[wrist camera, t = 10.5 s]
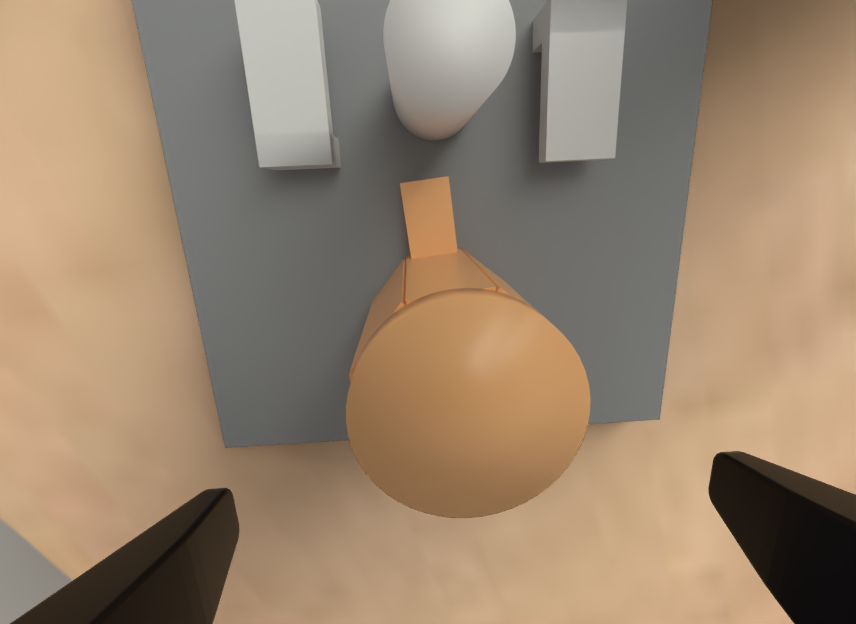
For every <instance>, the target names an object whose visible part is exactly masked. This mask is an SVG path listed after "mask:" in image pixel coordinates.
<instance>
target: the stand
mask: <svg viewBox="0 0 856 624" xmlns="http://www.w3.org/2000/svg"><path fill="white" fill-rule="evenodd" d="M132 4H133V8H134V13H135V18H136V23H137V28H138V32H139V37H140V42H141V47H142V52H143V56H144V61H145V66H146V71H147V76H148V80H149V85H150V90H151V95H152V100H153V104H154V109H155V114H156V119H157V124H158V128H159V133H160V138H161V143H162V147H163V152H164V157H165V162H166V167H167V171H168V176H169V181H170V186H171V191H172V195H173V200H174V205H175V210H176V215H177V219H178V224H179V229H180V234H181V239H182V243H183V248H184V253H185V258H186V263H187V267H188V272H189V277H190V282H191V287H192V291H193V296H194V301H195V306H196V310H197V315H198V320H199V325H200V330H201V334H202V339H203V344H204V349H205V354H206V358H207V363H208V368H209V373H210V378H211V382H212V387H213V392H214V397H215V402H216V406H217V411H218V416H219V421H220V426H221V430H222V435H223V440H224V445H225V448H232V447H247V446H262V445H277V444H293V443H308V442H323V441H339V440H349V437H348V432H347V425H346V403H347V396H348V391H349V387H350V384H351V382H350V377H349V373H350V369H351V365H352V362H353V359H354V356H355V353H356V350H357V347H358V344H359V341H360V338H361V335H362V332H363V328H364V325H365V322H366V319H367V316H368V313H369V310H370V307H371V304H372V301H373V299H374V298H375V297H376V295H377V294H378V292H379V291H380V290H381V288H382V287H383V286H384V284H385V283H386V282H387V280H388V279H389V278H390V276H391V275H392V273H393V272H394V271H395V269H396V268H397V267H398V265H399V264H400V263H401V261H402V260H403V259H404V258H405V259H406V257H407V256H411V253H410V247H409V240H408V234H407V227H406V221H405V214H404V208H403V201H402V195H401V188H400V183H405V182H412V181H419V180H425V179H432V178H439V177H446V176H449V184H450V192H451V201H452V209H453V217H454V225H455V234H456V242H457V249H461V250H465V251H466V252H467V253H469V254H470V255H471V256H472V257H474V258H475V259H476V260H478V261H479V262H480V263H482V264H483V265H484V266H486V267H487V268H488V269H489V270H491V271H492V272H493V273H495V274H496V275H497V276H499V277H500V278H501V279H503V280H504V281H505V282H506V283H507V284H508V285H509V286H510V287H512V288H513V289H514V290H515V291H516V292H517V293H518V294H519V295H520V296H521V297H522V298H524V299H525V300H526V301H527V302H528V303H529V304H530V305H531V306H532V307H533V308H534V309H536V310H537V311H538V312H539V313H540V314H542V315H543V316H544V317H545V318H546V319H547V320H548V321H549V322H551V323H552V324H553V325H554V326H555V327H556V328H557V329H558V330H559V331H560V332H562V334H563V335H564V336H565V337H566V338H567V339H568V341H569V342H570V343H571V344H572V346H573V347H574V349H575V350H576V352H577V354H578V355H579V357H580V359H581V362H582V364H583V366H584V369H585V371H586V375H587V379H588V383H589V389H590V398H591V400H590V416H589V421H588V424H598V423H613V422H629V421H644V420H659V419H660V412H661V405H662V397H663V389H664V381H665V373H666V365H667V357H668V349H669V341H670V333H671V325H672V317H673V309H674V302H675V294H676V286H677V278H678V270H679V262H680V254H681V246H682V238H683V230H684V222H685V214H686V206H687V199H688V191H689V183H690V175H691V167H692V159H693V151H694V143H695V135H696V127H697V119H698V111H699V103H700V96H701V88H702V80H703V72H704V64H705V56H706V48H707V40H708V32H709V24H710V16H711V8H712V0H132Z"/></svg>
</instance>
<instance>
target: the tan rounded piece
mask: <svg viewBox="0 0 856 624" xmlns="http://www.w3.org/2000/svg"><path fill="white" fill-rule="evenodd" d="M400 188H401V195H402V201H403V208H404V214H405V221H406V227H407V234H408V240H409V247H410V253H411V256H407V257H406V259H405V258H404V259H403V260H402V261H401V263H400V264H399V265H398V267H397V268H396V269H395V271H394V272H393V273H392V275H391V276H390V278H389V279H388V280H387V282H386V283H385V284H384V286H383V287H382V288H381V290H380V291H379V292H378V294H377V295H376V297H375V298H374V299H373V301H372V304H371V307H370V310H369V313H368V316H367V319H366V322H365V325H364V328H363V332H362V335H361V338H360V341H359V344H358V347H357V350H356V353H355V356H354V359H353V362H352V365H351V369H350V373H349V377H350V382H351V384H350V387H349V391H348V396H347V403H346V425H347V432H348V437H349V440H350V444H351V447H352V450H353V452H354V454H355V456H356V458H357V460H358V462H359V464H360V465H361V467H362V468H363V470H364V471H365V473H366V474H367V475H368V476H369V478H370V479H371V480H372V481H373V482H374V483H375V484H376V485H377V486H378V487H379V488H380V489H381V490H382V491H384V492H385V493H386V494H387V495H389V496H390V497H392V498H393V499H395V500H396V501H398V502H400V503H402V504H404V505H406V506H408V507H410V508H412V509H415V510H418V511H421V512H423V513H427V514H432V515H436V516H442V517H450V518H472V517H482V516H487V515H492V514H497V513H500V512H503V511H506V510H509V509H512V508H514V507H516V506H519V505H521V504H523V503H525V502H527V501H528V500H530V499H532V498H534V497H535V496H537V495H538V494H540V493H541V492H542V491H544V490H545V489H546V488H548V487H549V486H550V485H551V484H552V483H553V482H554V481H556V480H557V479H558V478H559V477H560V476H561V474H562V473H563V472H564V471H565V470H566V468H567V467H568V466H569V465H570V463H571V462H572V460H573V459H574V457H575V455H576V454H577V452H578V450H579V448H580V446H581V444H582V442H583V439H584V436H585V433H586V430H587V427H588V421H589V416H590V400H591V398H590V389H589V383H588V379H587V375H586V371H585V369H584V366H583V364H582V362H581V359H580V357H579V355H578V354H577V352H576V350H575V349H574V347H573V346H572V344H571V343H570V342H569V341H568V339H567V338H566V337H565V336H564V335H563V334H562V332H560V331H559V330H558V329H557V328H556V327H555V326H554V325H553V324H552V323H551V322H549V321H548V320H547V319H546V318H545V317H544V316H543V315H542V314H540V313H539V312H538V311H537V310H536V309H534V308H533V307H532V306H531V305H530V304H529V303H528V302H527V301H526V300H525V299H524V298H522V297H521V296H520V295H519V294H518V293H517V292H516V291H515V290H514V289H513V288H512V287H510V286H509V285H508V284H507V283H506V282H505V281H504V280H503V279H501V278H500V277H499V276H497V275H496V274H495V273H493V272H492V271H491V270H489V269H488V268H487V267H486V266H484V265H483V264H482V263H480V262H479V261H478V260H476V259H475V258H474V257H472V256H471V255H470V254H469V253H467V252H466V251H465V250H461V249H457V242H456V234H455V225H454V217H453V209H452V201H451V192H450V184H449V176H446V177H439V178H432V179H425V180H419V181H412V182H405V183H400Z"/></svg>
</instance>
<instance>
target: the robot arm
mask: <svg viewBox="0 0 856 624" xmlns="http://www.w3.org/2000/svg"><path fill="white" fill-rule="evenodd" d="M709 496H710V499H711V502H712V504H713V505H714V507H715V509H716V510H717V512H718V513H719V515H720V516H721V518H722V519H723V521H724V522H725V524H726V526H727V527H728V529H729V530H730V532H731V533H732V535H733V536H734V538H735V539H736V541H737V543H738V544H739V546H740V547H741V549H742V550H743V552H744V553H745V555H746V557H747V558H748V560H749V561H750V563H751V564H752V566H753V567H754V569H755V570H756V572H757V573H758V575H759V576H760V578H761V579H762V581H763V582H764V584H765V585H766V587H767V588H768V589H769V591H770V592H771V593H772V595H773V596H774V598H775V599H776V600H777V602H778V603H779V604H780V606H781V607H782V608H783V609H784V611H785V612H786V613H787V615H788V616H789V617H790V619H791V620H792V621H793V623H794V624H856V495H855V494H852V493H850V492H847V491H844V490H842V489H839V488H836V487H834V486H831V485H828V484H826V483H823V482H821V481H818V480H815V479H813V478H810V477H807V476H805V475H802V474H799V473H797V472H794V471H792V470H789V469H786V468H784V467H781V466H778V465H776V464H773V463H770V462H768V461H765V460H763V459H760V458H757V457H755V456H752V455H749V454H747V453H744V452H740V451H733V452H720V453H718V454H716V456H715V457H714V459H713V464H712V470H711V476H710V482H709ZM238 537H239V522H238V517H237V512H236V507H235V503H234V498H233V494H232V492H231V490H230V489H228V488H218V489H207V490H204V491H203V492H201V493H200V494H198V495H197V496H195V497H194V498H193V499H191V500H190V501H188V502H187V503H185V504H184V505H182V506H181V507H179V508H178V509H176V510H175V511H174V512H172V513H171V514H169V515H168V516H166V517H165V518H163V519H162V520H160V521H159V522H158V523H156V524H155V525H153V526H152V527H150V528H149V529H147V530H146V531H144V532H143V533H142V534H140V535H139V536H137V537H136V538H134V539H133V540H131V541H130V542H128V543H127V544H125V545H124V546H123V547H121V548H120V549H118V550H117V551H115V552H114V553H112V554H111V555H109V556H108V557H107V558H105V559H104V560H102V561H101V562H99V563H98V564H96V565H95V566H93V567H92V568H90V569H89V570H88V571H86V572H85V573H83V574H82V575H80V576H79V577H77V578H76V579H74V580H73V581H72V582H70V583H69V584H67V585H66V586H65V587H63V588H61V589H60V590H58V591H57V592H56V593H54V594H53V595H51V596H50V597H48V598H47V599H46V600H44V601H43V602H41V603H40V604H38V605H37V606H35V607H34V608H32V609H31V610H29V611H28V612H26V613H25V614H24V615H22V616H21V617H19V618H18V619H16V620H15V621H13V622H12V623H10V624H213V621H214V618H215V615H216V611H217V608H218V605H219V601H220V598H221V594H222V591H223V588H224V584H225V581H226V578H227V574H228V571H229V568H230V564H231V561H232V558H233V554H234V551H235V548H236V544H237V541H238Z"/></svg>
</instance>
